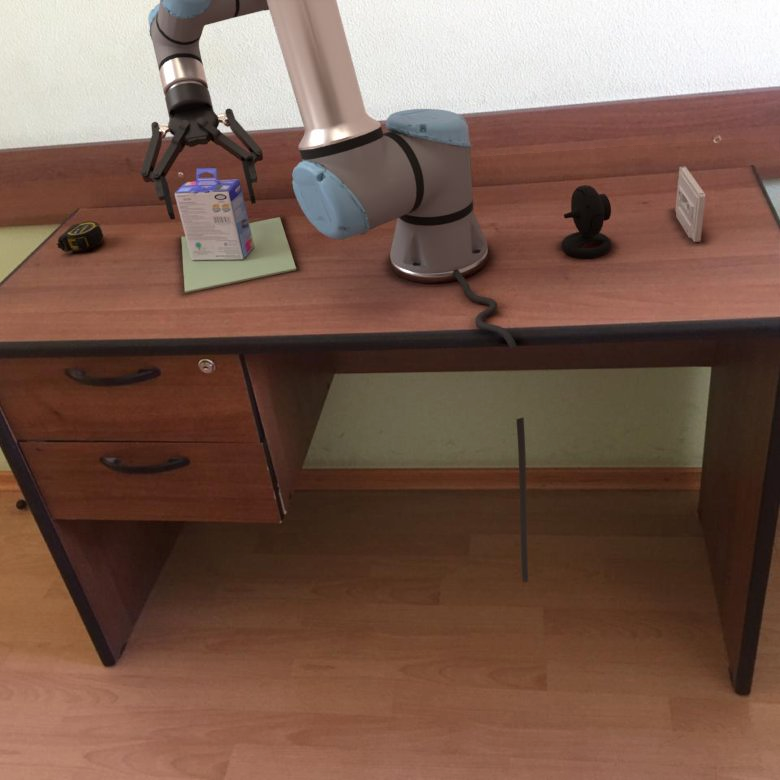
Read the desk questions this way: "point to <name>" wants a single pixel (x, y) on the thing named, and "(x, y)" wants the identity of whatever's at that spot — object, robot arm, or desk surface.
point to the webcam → (587, 223)
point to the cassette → (690, 204)
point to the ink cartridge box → (214, 218)
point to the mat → (260, 262)
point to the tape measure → (81, 237)
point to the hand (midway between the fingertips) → (212, 208)
